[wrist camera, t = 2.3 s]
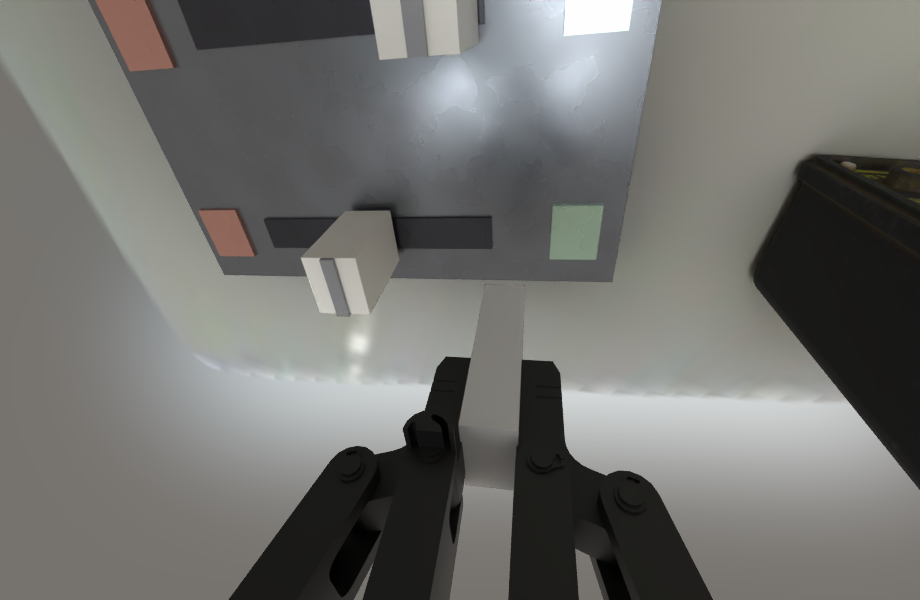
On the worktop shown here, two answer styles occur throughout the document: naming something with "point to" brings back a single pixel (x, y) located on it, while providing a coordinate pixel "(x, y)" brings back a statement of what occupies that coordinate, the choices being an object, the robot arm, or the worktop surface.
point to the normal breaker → (424, 27)
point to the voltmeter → (856, 288)
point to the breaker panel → (396, 130)
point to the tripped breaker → (352, 262)
